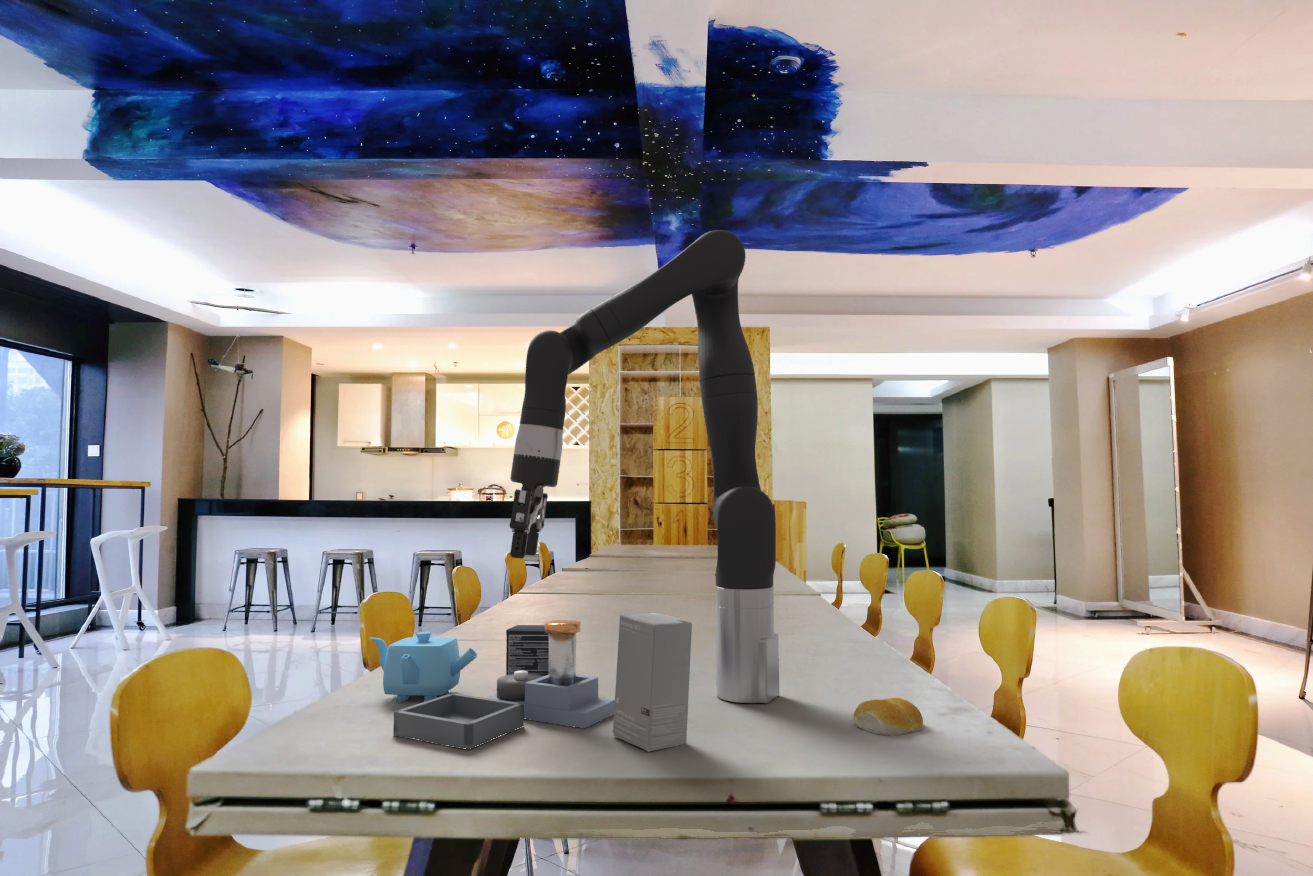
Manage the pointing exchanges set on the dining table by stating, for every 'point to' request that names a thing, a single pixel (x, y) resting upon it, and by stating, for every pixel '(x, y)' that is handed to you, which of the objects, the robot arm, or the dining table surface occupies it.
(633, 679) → the skincare box
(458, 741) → the tray
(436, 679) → the teapot
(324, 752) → the dining table surface
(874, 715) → the bread roll
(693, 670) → the dining table surface
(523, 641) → the small box
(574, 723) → the block
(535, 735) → the dining table surface
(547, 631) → the copper capped glass jar
